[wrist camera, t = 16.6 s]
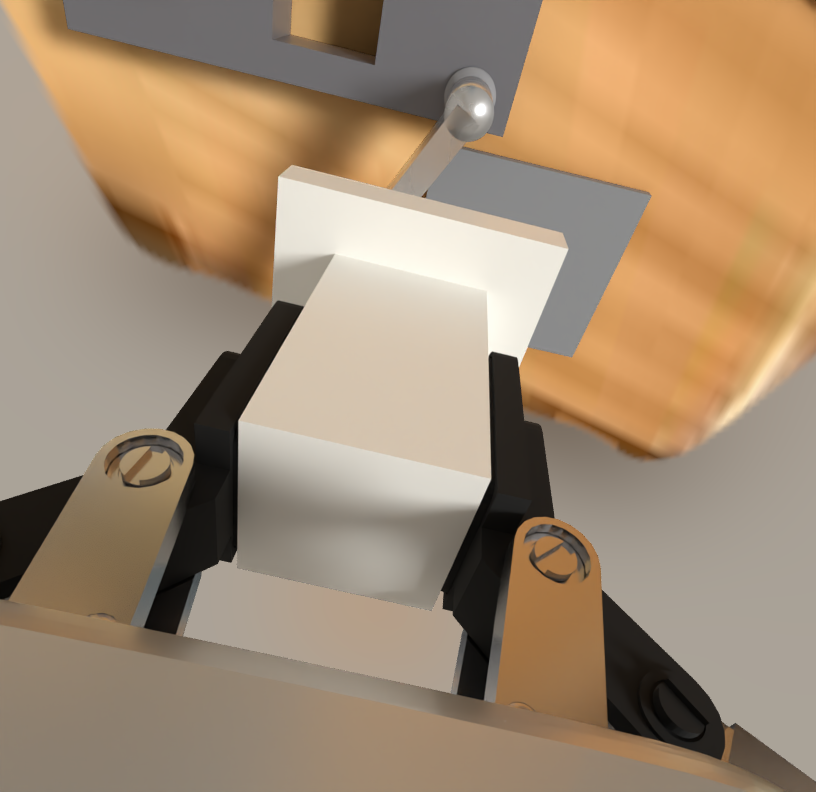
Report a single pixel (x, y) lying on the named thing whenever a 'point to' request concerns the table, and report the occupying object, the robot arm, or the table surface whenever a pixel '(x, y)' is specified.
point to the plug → (381, 384)
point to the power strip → (331, 65)
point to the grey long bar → (448, 135)
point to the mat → (555, 210)
